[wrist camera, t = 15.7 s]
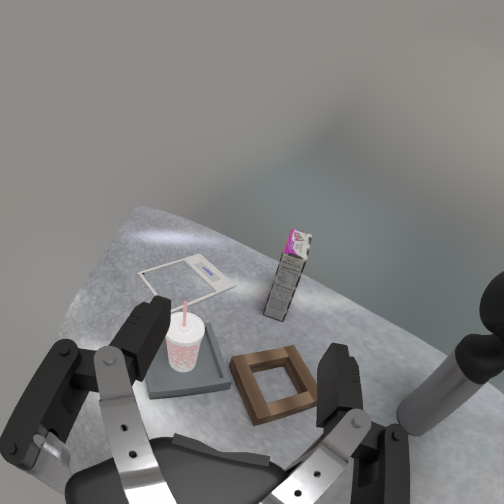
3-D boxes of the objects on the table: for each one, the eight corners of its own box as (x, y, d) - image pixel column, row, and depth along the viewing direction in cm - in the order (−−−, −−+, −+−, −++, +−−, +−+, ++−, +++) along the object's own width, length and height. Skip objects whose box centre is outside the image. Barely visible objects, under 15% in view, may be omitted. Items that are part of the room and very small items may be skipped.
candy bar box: (272, 286, 66) (291, 227, 58) (291, 292, 65) (313, 234, 57) (261, 315, 57) (282, 250, 48) (283, 323, 56) (308, 259, 48)
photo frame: (236, 284, 63) (169, 312, 50) (235, 288, 63) (169, 316, 51) (199, 253, 70) (137, 271, 58) (199, 256, 71) (137, 275, 59)
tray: (208, 331, 50) (210, 322, 48) (229, 388, 40) (231, 381, 39) (141, 336, 44) (140, 327, 43) (150, 399, 35) (148, 392, 33)
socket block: (288, 354, 49) (293, 344, 47) (317, 405, 40) (325, 397, 38) (229, 366, 44) (231, 356, 42) (253, 425, 35) (258, 419, 33)
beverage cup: (189, 382, 38) (193, 326, 31) (157, 364, 40) (153, 304, 33) (206, 357, 44) (216, 298, 36) (176, 341, 45) (179, 281, 38)
